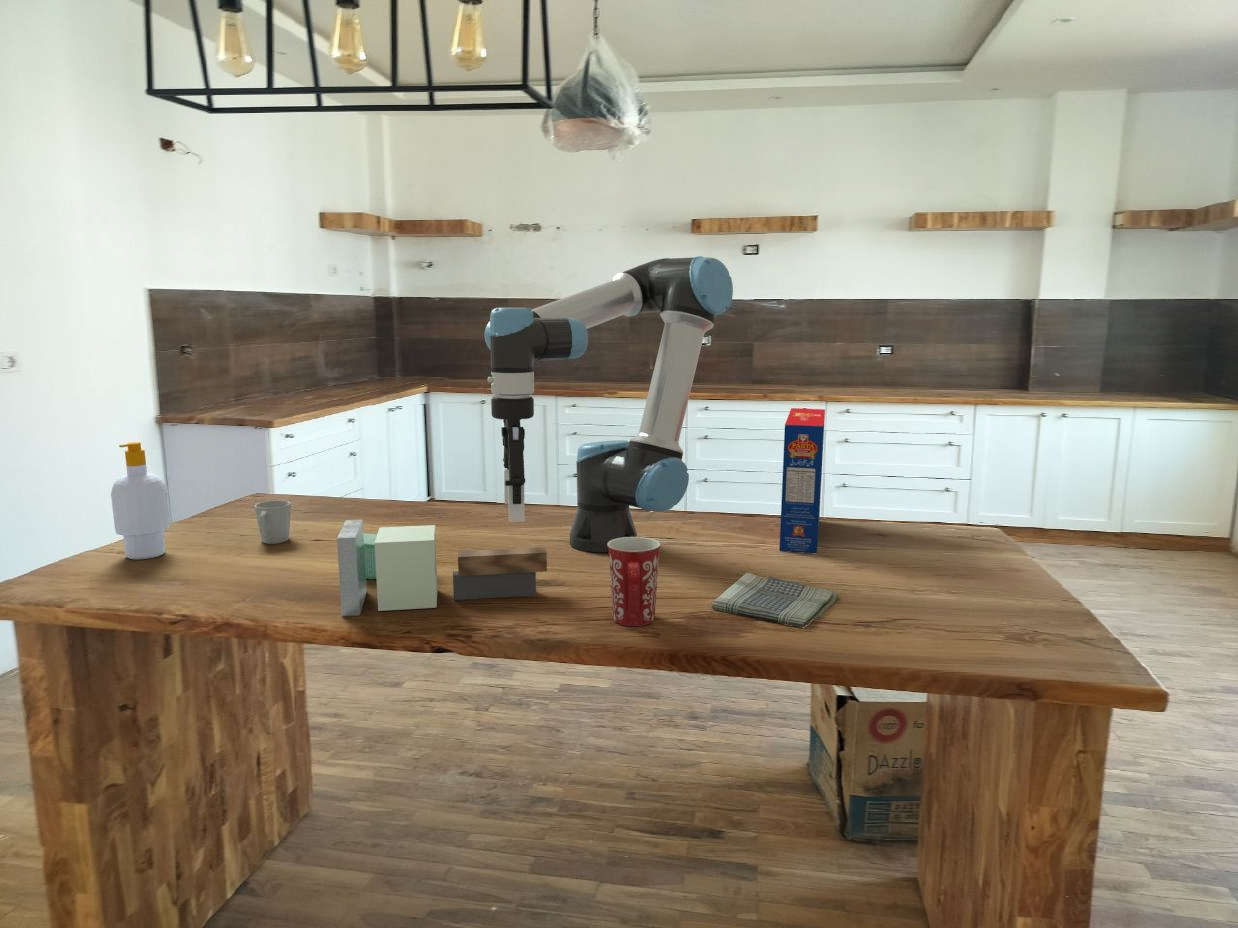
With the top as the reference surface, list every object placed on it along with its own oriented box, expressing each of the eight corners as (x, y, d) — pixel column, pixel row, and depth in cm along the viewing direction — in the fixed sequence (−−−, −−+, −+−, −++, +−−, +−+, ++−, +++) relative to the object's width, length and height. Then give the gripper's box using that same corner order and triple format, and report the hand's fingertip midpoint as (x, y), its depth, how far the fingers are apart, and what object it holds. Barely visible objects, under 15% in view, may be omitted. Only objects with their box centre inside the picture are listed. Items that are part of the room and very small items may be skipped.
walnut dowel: (544, 565, 161) (544, 546, 160) (546, 571, 157) (546, 552, 156) (458, 569, 158) (457, 551, 157) (458, 576, 154) (457, 557, 153)
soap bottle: (106, 558, 178) (93, 445, 174) (149, 545, 188) (138, 437, 183) (141, 564, 175) (129, 448, 170) (184, 551, 184) (173, 440, 179)
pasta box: (786, 519, 213) (791, 408, 208) (819, 521, 211) (825, 409, 206) (779, 551, 186) (784, 424, 181) (816, 553, 185) (823, 426, 179)
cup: (299, 536, 196) (296, 500, 194) (280, 549, 186) (277, 511, 184) (266, 535, 196) (263, 499, 195) (245, 548, 186) (242, 510, 185)
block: (437, 588, 161) (435, 525, 158) (436, 607, 151) (433, 540, 149) (382, 591, 159) (379, 527, 157) (378, 610, 149) (374, 542, 147)
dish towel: (806, 633, 142) (806, 614, 142) (709, 612, 152) (709, 594, 151) (841, 600, 158) (841, 583, 157) (751, 583, 167) (751, 567, 167)
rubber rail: (534, 590, 161) (534, 566, 160) (536, 595, 158) (535, 570, 157) (453, 595, 158) (452, 571, 157) (453, 600, 155) (452, 575, 155)
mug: (608, 608, 152) (608, 535, 149) (659, 609, 151) (660, 536, 149) (603, 636, 139) (603, 557, 137) (659, 637, 139) (660, 558, 136)
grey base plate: (366, 591, 159) (362, 519, 157) (359, 615, 148) (355, 537, 145) (349, 592, 159) (345, 520, 156) (341, 616, 147) (336, 538, 145)
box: (409, 583, 165) (407, 546, 163) (345, 578, 168) (343, 541, 166) (425, 571, 172) (424, 536, 170) (364, 567, 175) (362, 531, 173)
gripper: (488, 388, 163) (490, 496, 167) (494, 404, 139) (496, 530, 143) (527, 388, 164) (529, 495, 168) (540, 403, 140) (541, 528, 144)
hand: (514, 511), depth 156 cm, fingers open, 13 cm apart
